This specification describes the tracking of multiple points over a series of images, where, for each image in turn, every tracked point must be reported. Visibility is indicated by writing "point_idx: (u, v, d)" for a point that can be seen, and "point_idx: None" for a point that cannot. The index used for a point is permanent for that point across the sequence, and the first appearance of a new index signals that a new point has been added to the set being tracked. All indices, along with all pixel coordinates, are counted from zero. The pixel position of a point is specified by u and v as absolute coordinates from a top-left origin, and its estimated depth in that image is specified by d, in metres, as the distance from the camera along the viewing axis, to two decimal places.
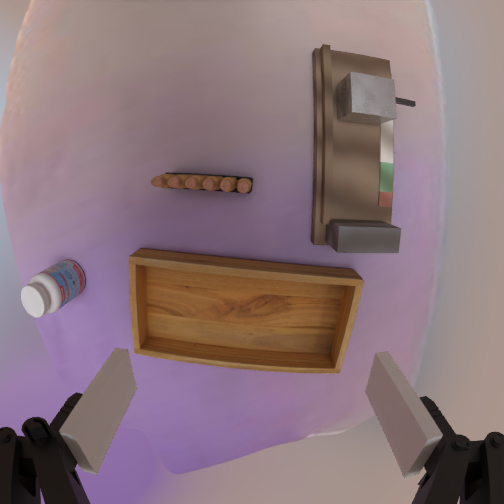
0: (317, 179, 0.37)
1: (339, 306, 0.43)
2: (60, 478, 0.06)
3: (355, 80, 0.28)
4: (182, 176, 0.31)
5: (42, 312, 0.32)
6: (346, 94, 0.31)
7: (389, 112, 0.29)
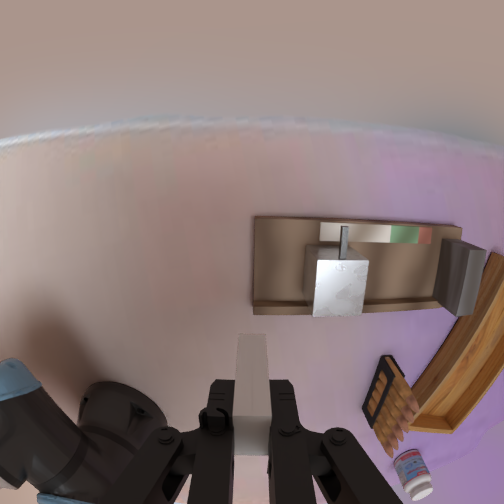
0: None
1: None
2: (220, 472, 0.08)
3: (323, 311, 0.28)
4: (385, 429, 0.33)
5: (431, 488, 0.35)
6: None
7: (362, 269, 0.27)
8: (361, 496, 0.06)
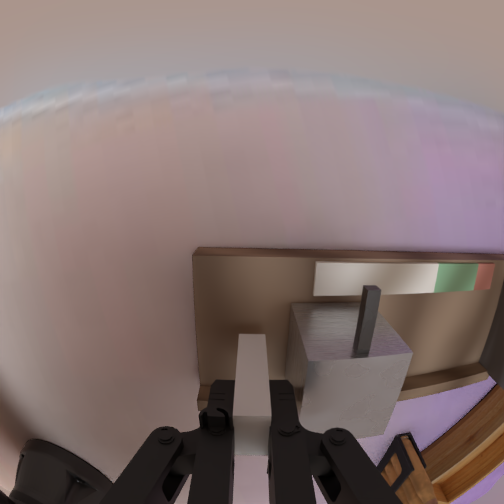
0: None
1: None
2: (220, 472, 0.08)
3: None
4: None
5: None
6: None
7: (397, 369, 0.12)
8: (361, 496, 0.06)
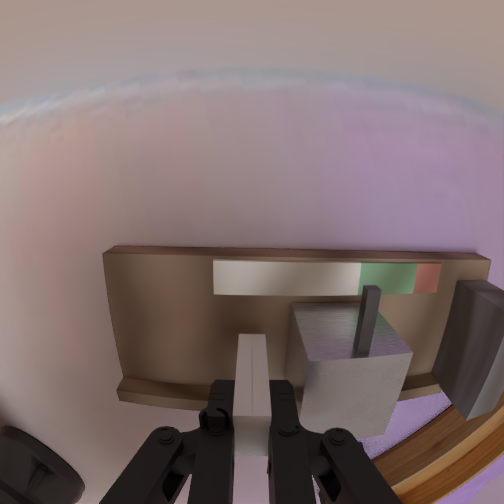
0: None
1: None
2: (220, 472, 0.08)
3: None
4: None
5: None
6: None
7: (397, 369, 0.12)
8: (361, 496, 0.06)
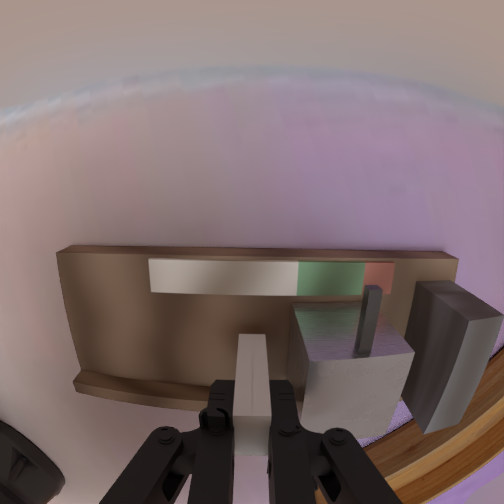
0: None
1: None
2: (220, 472, 0.08)
3: None
4: None
5: None
6: None
7: (399, 369, 0.12)
8: (361, 496, 0.06)
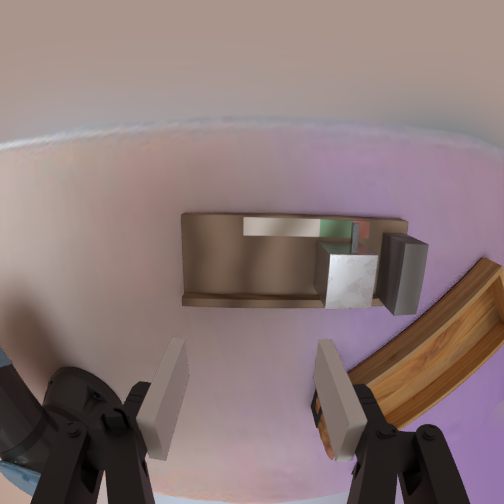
0: None
1: (490, 288, 0.37)
2: (130, 470, 0.07)
3: (335, 303, 0.29)
4: (326, 429, 0.34)
5: None
6: None
7: (371, 264, 0.28)
8: (437, 489, 0.06)
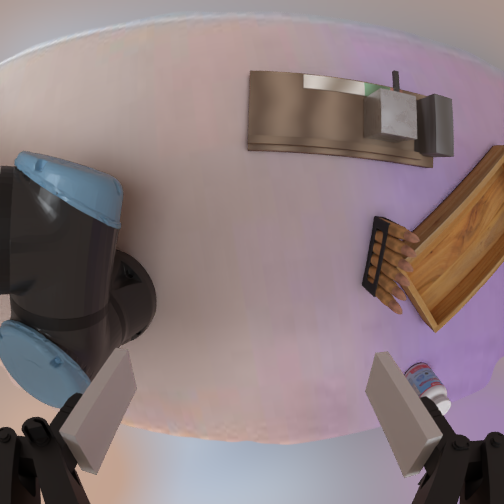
0: (383, 159, 0.37)
1: None
2: (60, 478, 0.06)
3: (389, 129, 0.30)
4: (389, 285, 0.35)
5: (449, 401, 0.37)
6: (392, 136, 0.32)
7: (412, 101, 0.29)
8: (493, 493, 0.05)
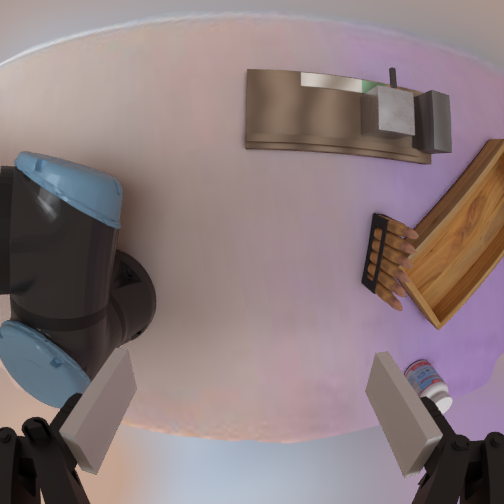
0: (381, 156, 0.37)
1: (502, 169, 0.38)
2: (60, 478, 0.06)
3: (386, 125, 0.30)
4: (388, 281, 0.35)
5: (450, 398, 0.37)
6: (390, 133, 0.32)
7: (409, 98, 0.29)
8: (493, 493, 0.05)
